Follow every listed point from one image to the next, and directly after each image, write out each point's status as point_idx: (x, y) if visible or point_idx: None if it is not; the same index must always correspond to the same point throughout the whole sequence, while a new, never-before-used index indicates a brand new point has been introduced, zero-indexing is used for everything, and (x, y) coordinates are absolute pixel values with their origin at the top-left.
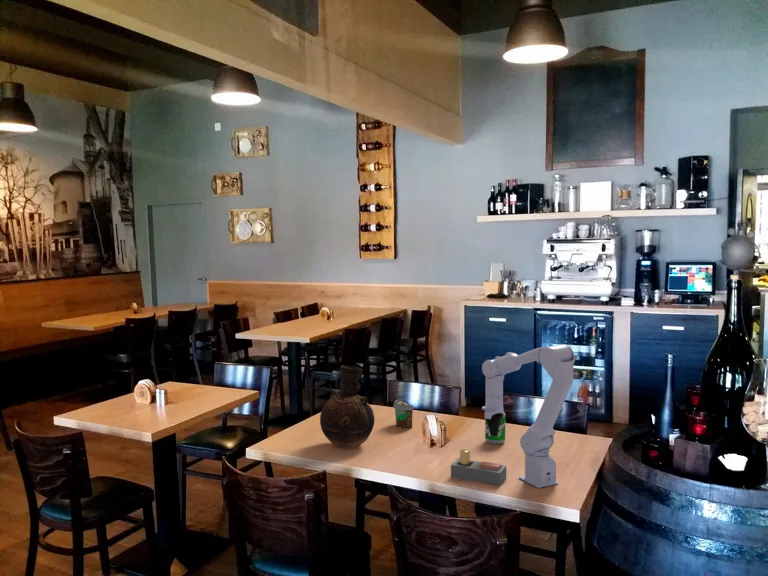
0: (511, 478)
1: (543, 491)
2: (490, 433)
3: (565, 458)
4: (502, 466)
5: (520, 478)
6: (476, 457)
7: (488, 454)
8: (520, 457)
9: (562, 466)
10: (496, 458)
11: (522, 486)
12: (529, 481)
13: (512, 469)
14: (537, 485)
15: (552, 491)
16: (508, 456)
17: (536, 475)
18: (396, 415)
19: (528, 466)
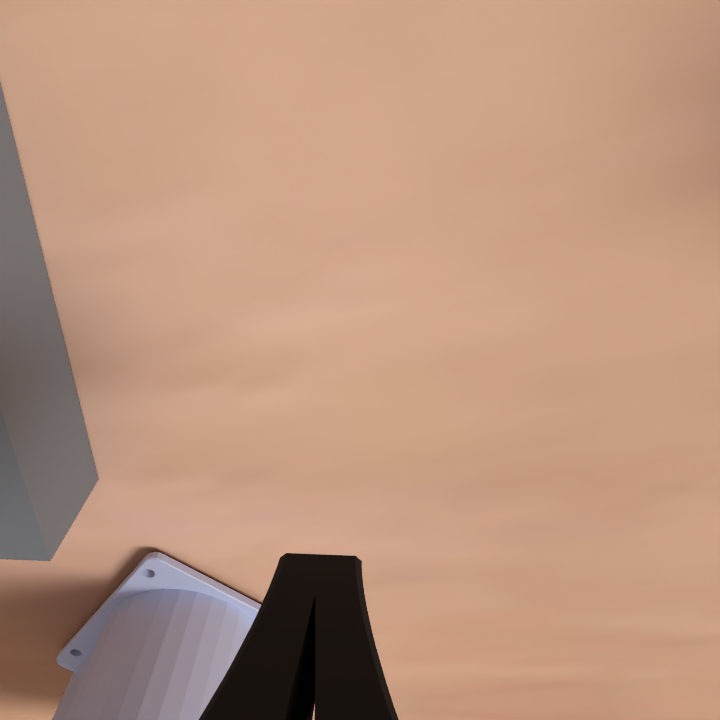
0: (124, 507)
1: (40, 673)
2: (274, 583)
3: (712, 704)
4: (9, 539)
5: (139, 563)
6: (559, 67)
7: (716, 181)
8: (673, 479)
9: (534, 704)
10: (586, 299)
11: (28, 583)
12: (104, 619)
13: (327, 479)
14: (69, 658)
15: None
16: (682, 387)
17: (64, 709)
18: None
19: (64, 718)
